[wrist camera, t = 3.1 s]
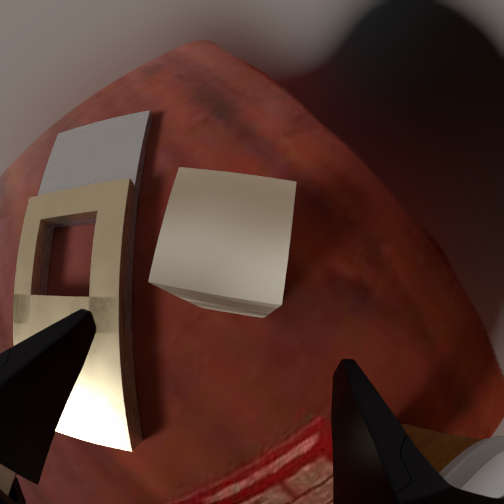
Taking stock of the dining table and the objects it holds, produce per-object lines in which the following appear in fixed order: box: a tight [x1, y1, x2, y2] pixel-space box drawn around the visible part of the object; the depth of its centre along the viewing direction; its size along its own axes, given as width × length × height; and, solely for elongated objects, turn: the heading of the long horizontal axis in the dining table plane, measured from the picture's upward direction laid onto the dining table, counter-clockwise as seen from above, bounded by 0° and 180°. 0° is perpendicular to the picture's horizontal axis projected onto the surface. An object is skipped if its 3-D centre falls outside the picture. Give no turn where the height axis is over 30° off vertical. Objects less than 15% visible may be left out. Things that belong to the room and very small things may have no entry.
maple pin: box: [148, 167, 296, 318], centre depth 15 cm, size 5×5×11 cm
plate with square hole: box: [13, 111, 153, 451], centre depth 19 cm, size 30×12×2 cm, turn 3°
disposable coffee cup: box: [401, 424, 504, 498], centre depth 10 cm, size 10×10×12 cm
